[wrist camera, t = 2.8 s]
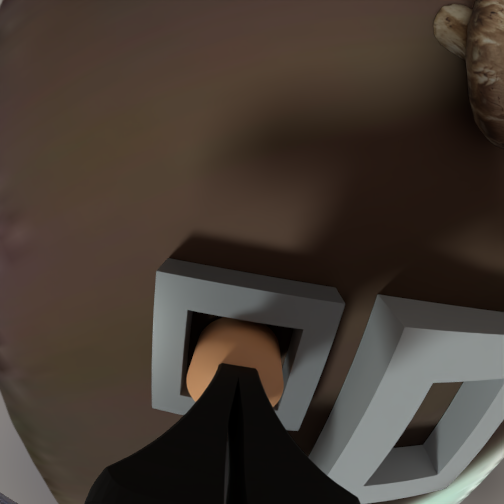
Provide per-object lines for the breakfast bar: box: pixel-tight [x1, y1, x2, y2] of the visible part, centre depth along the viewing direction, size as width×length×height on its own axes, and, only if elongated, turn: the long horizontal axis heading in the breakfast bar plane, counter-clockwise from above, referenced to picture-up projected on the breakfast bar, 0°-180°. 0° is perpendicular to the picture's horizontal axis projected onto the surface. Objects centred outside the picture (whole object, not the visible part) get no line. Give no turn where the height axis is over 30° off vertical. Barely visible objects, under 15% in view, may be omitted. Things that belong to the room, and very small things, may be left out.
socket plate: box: [308, 294, 504, 504], centre depth 13 cm, size 13×11×3 cm
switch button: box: [187, 317, 284, 407], centre depth 12 cm, size 4×4×2 cm
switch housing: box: [152, 258, 345, 431], centre depth 13 cm, size 7×7×2 cm
